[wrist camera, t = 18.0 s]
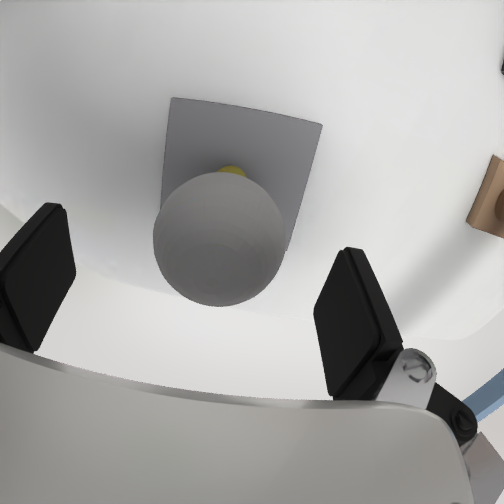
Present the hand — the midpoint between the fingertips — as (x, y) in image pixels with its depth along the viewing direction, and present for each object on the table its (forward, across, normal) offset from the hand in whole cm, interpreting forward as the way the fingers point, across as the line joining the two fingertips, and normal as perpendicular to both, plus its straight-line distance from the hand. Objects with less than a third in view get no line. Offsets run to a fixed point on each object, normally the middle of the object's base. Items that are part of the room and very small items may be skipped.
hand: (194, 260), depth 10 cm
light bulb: (+10, -1, +1) cm, 10 cm away
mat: (+10, -1, +1) cm, 11 cm away
